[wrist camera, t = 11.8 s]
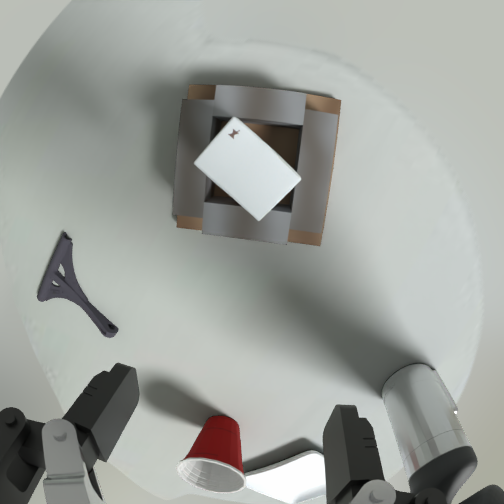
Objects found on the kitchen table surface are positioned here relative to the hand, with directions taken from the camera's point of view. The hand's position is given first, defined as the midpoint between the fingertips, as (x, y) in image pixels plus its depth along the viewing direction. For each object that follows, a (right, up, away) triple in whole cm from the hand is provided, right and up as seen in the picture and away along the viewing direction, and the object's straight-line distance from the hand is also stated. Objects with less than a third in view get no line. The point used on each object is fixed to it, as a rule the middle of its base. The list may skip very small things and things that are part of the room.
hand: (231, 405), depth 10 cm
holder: (+1, +16, +20) cm, 26 cm away
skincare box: (+1, +15, +19) cm, 25 cm away
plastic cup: (-4, -24, +34) cm, 42 cm away
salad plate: (+12, -42, +39) cm, 59 cm away
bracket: (-25, -1, +29) cm, 38 cm away
